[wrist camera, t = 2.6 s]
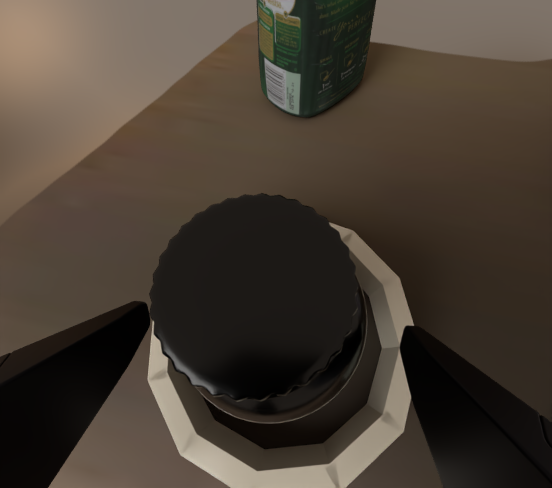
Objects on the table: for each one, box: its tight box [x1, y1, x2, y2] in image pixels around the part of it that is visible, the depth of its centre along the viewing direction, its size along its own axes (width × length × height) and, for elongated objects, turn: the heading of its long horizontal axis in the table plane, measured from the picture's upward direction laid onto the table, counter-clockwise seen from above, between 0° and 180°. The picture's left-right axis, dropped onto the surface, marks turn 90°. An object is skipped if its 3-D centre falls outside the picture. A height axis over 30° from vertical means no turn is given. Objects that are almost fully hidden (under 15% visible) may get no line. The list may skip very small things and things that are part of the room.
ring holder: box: [148, 223, 414, 488], centre depth 15 cm, size 14×14×3 cm
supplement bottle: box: [149, 193, 367, 424], centre depth 11 cm, size 7×7×12 cm
